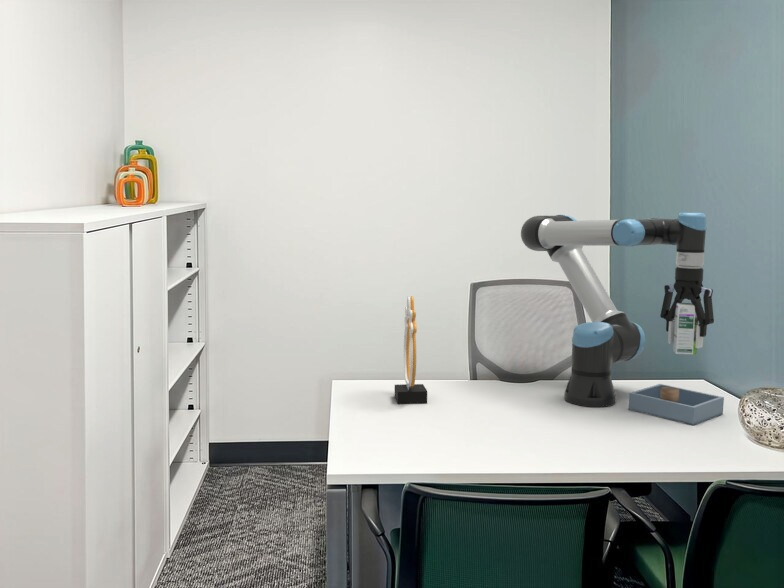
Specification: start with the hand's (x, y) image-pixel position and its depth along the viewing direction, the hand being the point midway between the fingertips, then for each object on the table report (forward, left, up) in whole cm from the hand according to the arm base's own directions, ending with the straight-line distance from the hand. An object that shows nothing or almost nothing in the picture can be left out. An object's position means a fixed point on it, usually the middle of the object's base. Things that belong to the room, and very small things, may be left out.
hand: (685, 345), depth 223 cm
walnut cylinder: (0, -7, -19) cm, 20 cm away
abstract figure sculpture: (-58, -54, -20) cm, 82 cm away
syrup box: (0, 0, -2) cm, 2 cm away
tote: (0, -3, -19) cm, 20 cm away
